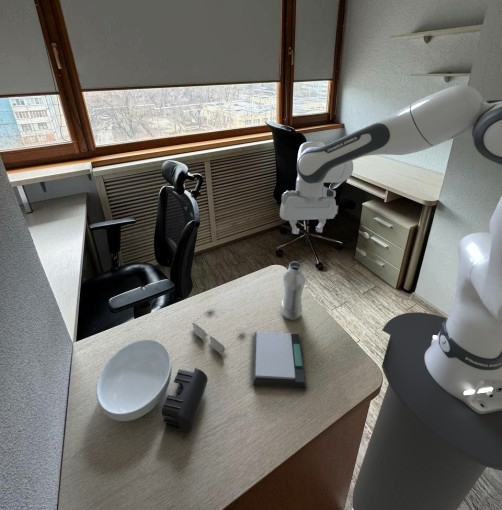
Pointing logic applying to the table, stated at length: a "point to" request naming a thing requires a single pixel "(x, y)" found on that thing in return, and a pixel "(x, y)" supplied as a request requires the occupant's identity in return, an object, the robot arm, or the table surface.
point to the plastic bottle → (293, 291)
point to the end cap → (185, 400)
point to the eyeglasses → (214, 342)
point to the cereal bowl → (134, 380)
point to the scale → (278, 360)
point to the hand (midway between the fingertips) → (307, 232)
